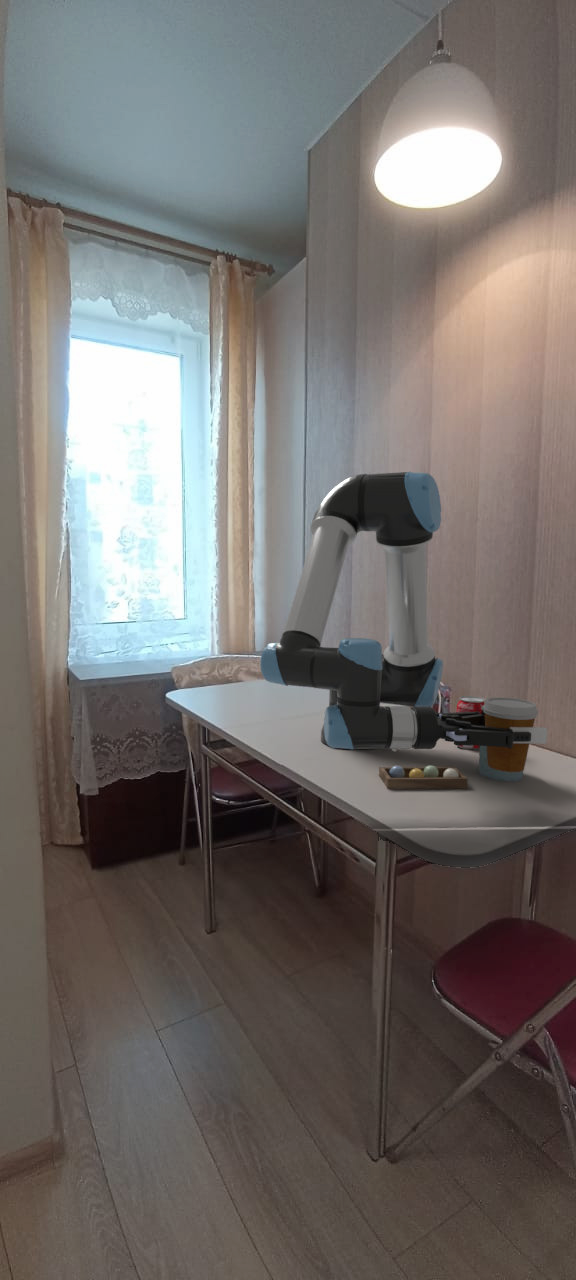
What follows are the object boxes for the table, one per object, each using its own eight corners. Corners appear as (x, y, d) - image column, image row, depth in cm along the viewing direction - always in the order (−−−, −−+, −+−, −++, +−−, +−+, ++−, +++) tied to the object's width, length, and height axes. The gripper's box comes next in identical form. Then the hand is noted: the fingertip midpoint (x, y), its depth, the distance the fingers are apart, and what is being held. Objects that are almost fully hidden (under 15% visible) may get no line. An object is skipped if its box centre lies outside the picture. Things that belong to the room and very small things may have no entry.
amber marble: (406, 780, 122) (407, 766, 122) (421, 780, 123) (422, 766, 122) (410, 786, 119) (411, 771, 119) (425, 786, 120) (426, 771, 119)
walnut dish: (378, 777, 125) (379, 767, 125) (454, 777, 126) (455, 766, 126) (387, 790, 118) (387, 779, 118) (467, 789, 119) (467, 778, 119)
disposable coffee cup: (489, 755, 118) (494, 694, 116) (540, 766, 112) (545, 702, 110) (470, 767, 110) (474, 702, 109) (523, 779, 104) (528, 711, 103)
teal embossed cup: (529, 773, 129) (534, 719, 128) (521, 788, 121) (525, 729, 119) (481, 765, 135) (484, 712, 133) (469, 778, 126) (473, 721, 124)
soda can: (478, 743, 151) (481, 695, 150) (488, 751, 144) (492, 702, 143) (450, 742, 151) (453, 695, 149) (459, 751, 144) (462, 701, 142)
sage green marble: (421, 777, 124) (421, 763, 124) (435, 777, 125) (436, 763, 124) (425, 782, 122) (426, 768, 121) (440, 782, 122) (441, 768, 121)
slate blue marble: (387, 777, 124) (388, 763, 124) (402, 777, 124) (402, 763, 124) (391, 783, 121) (391, 768, 121) (406, 782, 121) (406, 768, 121)
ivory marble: (440, 780, 123) (441, 766, 123) (455, 780, 123) (456, 766, 123) (445, 785, 120) (446, 771, 120) (460, 785, 120) (461, 771, 120)
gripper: (395, 732, 119) (506, 732, 121) (428, 767, 98) (562, 767, 100) (397, 694, 119) (509, 696, 120) (431, 722, 98) (566, 723, 100)
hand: (533, 728), depth 110 cm, fingers closed on disposable coffee cup, 8 cm apart
